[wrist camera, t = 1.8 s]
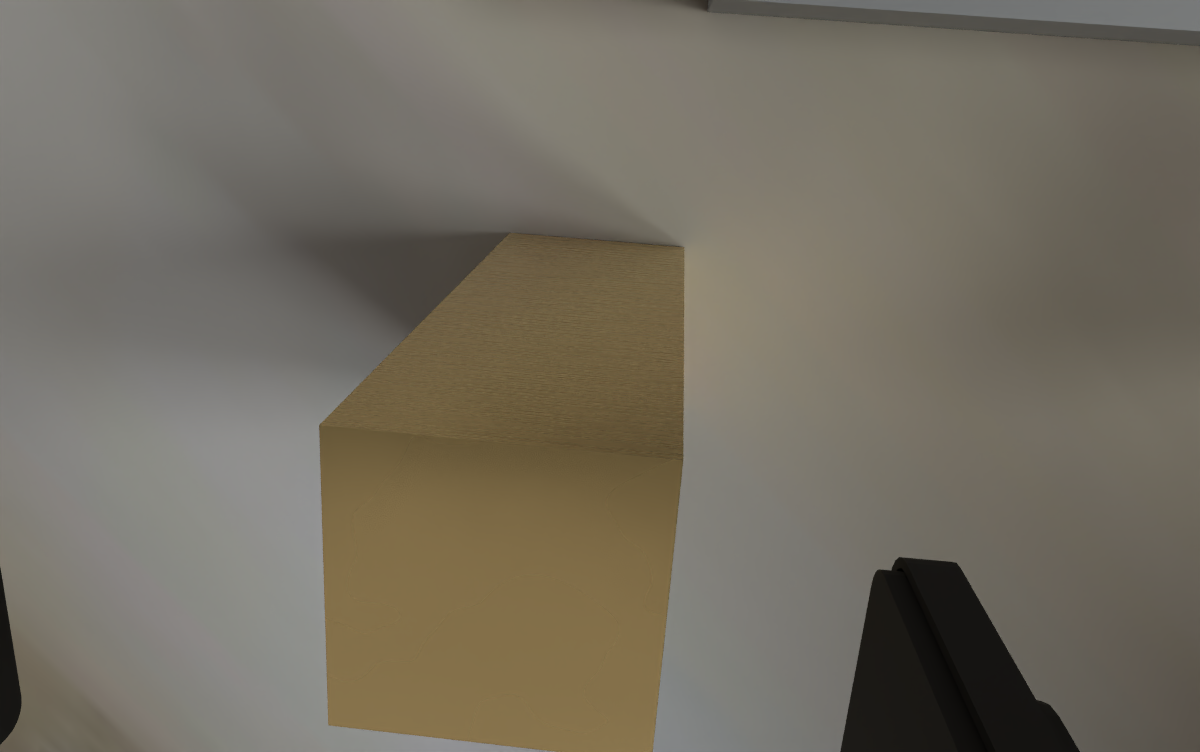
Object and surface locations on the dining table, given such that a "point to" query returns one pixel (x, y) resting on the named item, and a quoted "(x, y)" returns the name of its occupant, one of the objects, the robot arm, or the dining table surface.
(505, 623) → the wooden square peg
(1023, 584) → the dining table surface
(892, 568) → the robot arm
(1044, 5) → the well block
